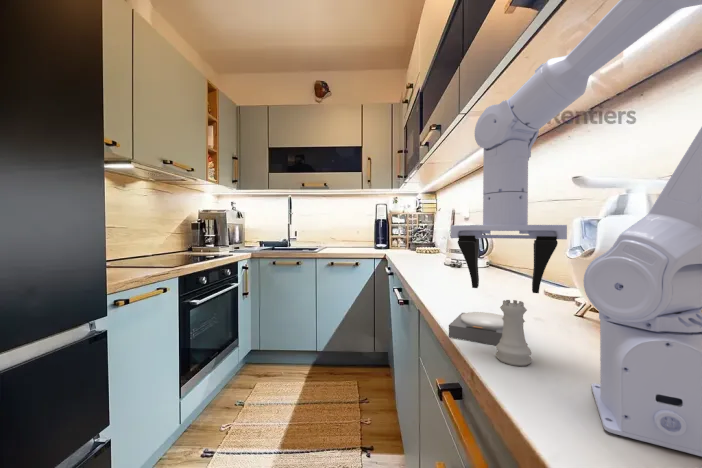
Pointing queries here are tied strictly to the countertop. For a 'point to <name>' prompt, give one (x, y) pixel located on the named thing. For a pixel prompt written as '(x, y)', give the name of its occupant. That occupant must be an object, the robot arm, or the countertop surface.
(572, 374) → the countertop surface
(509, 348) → the rook chess piece
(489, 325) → the kitchen scale
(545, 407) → the countertop surface
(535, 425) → the countertop surface
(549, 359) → the countertop surface
